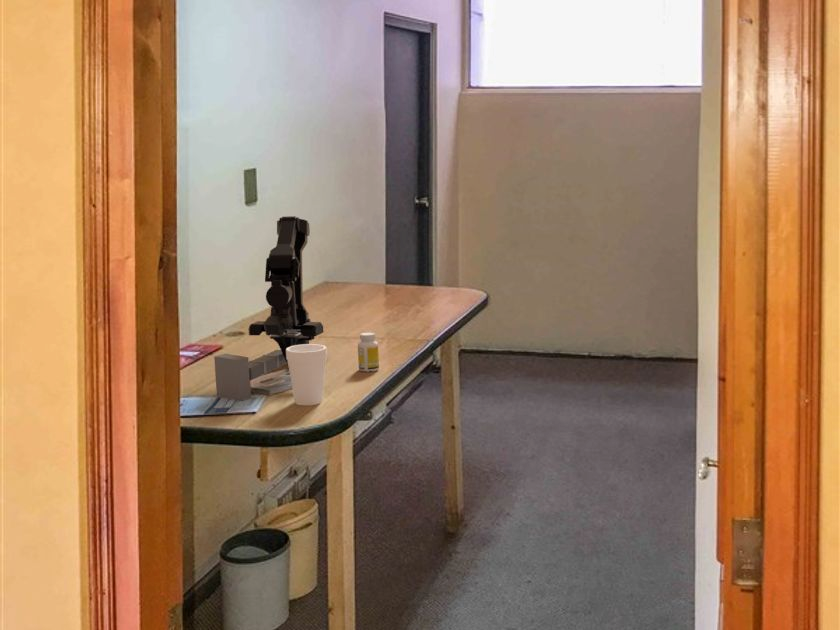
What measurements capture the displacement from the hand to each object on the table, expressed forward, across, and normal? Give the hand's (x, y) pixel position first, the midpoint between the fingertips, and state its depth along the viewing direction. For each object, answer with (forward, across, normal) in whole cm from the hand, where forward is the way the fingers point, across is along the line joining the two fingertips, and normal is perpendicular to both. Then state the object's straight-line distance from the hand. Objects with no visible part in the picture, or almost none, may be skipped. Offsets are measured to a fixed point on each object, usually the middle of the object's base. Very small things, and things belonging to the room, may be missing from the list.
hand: (287, 361), depth 270 cm
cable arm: (+4, -4, -7) cm, 9 cm away
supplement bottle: (+5, +17, +13) cm, 22 cm away
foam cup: (+5, +14, -21) cm, 26 cm away
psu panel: (+4, 0, -6) cm, 8 cm away
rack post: (+4, -6, -20) cm, 22 cm away
